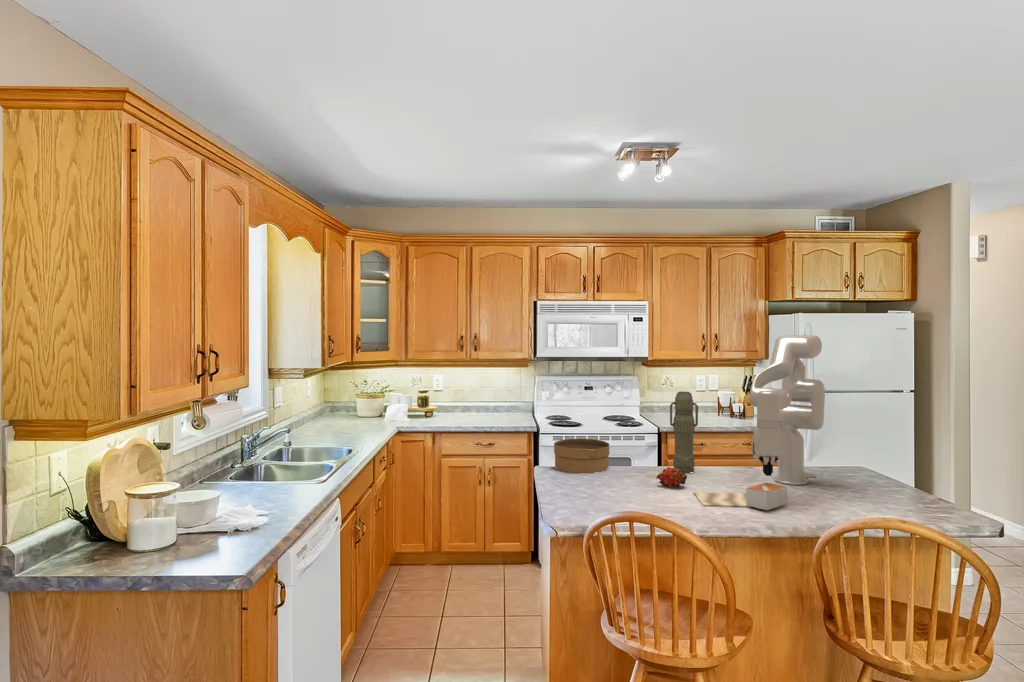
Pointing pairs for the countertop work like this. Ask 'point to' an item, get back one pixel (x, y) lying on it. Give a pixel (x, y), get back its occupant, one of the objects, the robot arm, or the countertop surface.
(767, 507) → the small box
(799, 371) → the robot arm
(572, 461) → the steamer basket
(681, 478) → the dragon fruit
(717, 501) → the maple board
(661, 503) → the countertop surface
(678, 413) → the thermos
